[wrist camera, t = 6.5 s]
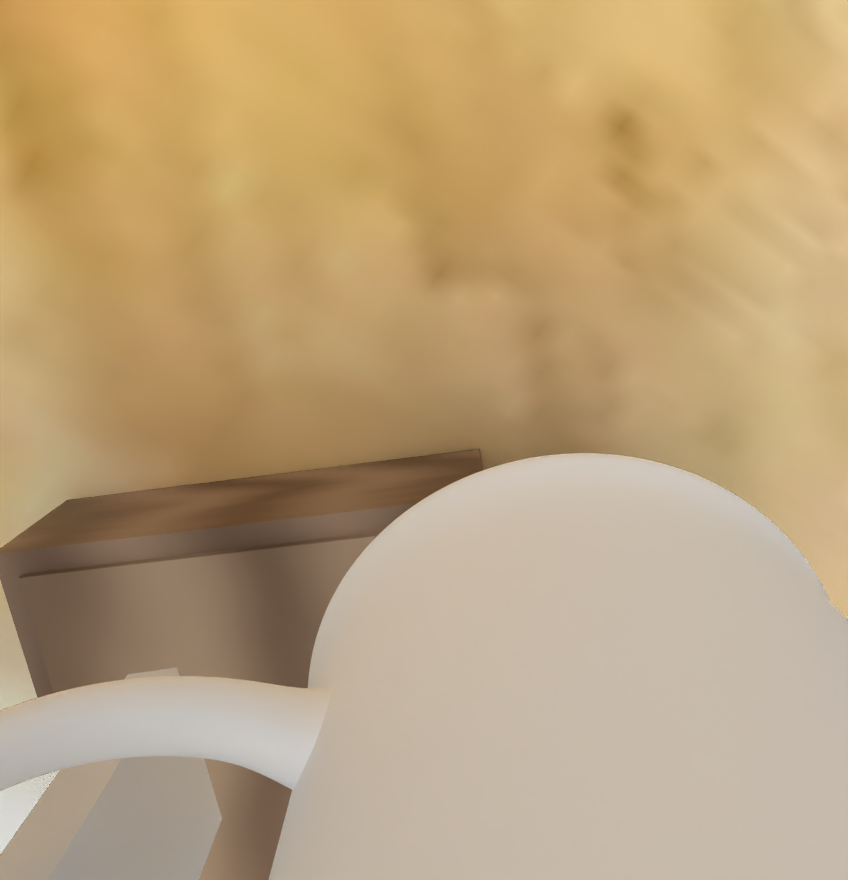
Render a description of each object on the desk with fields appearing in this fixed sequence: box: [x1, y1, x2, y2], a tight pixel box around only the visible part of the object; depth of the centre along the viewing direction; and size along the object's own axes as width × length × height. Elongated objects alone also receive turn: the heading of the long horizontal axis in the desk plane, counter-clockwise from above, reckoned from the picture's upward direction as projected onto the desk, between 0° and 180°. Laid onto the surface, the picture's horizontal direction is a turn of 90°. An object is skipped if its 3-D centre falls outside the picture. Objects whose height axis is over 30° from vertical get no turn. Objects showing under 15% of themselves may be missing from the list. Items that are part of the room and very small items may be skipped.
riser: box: [0, 449, 482, 880], centre depth 28 cm, size 16×16×5 cm
